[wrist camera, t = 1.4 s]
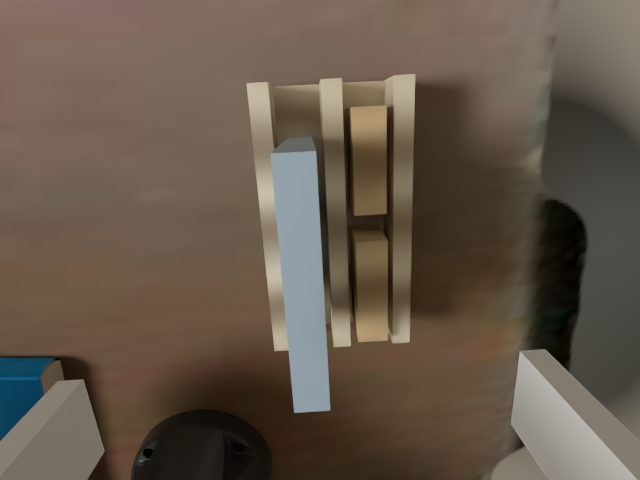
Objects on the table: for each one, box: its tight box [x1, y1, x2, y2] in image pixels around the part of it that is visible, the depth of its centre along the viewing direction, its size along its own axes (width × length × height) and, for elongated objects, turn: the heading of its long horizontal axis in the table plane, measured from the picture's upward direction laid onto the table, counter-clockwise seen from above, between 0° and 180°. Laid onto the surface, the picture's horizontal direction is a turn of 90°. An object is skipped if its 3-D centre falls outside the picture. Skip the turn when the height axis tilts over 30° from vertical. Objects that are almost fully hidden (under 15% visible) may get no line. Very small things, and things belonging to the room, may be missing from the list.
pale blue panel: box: [271, 136, 330, 413], centre depth 26 cm, size 14×2×16 cm, turn 3°
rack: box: [247, 74, 415, 351], centre depth 33 cm, size 22×12×6 cm, turn 3°
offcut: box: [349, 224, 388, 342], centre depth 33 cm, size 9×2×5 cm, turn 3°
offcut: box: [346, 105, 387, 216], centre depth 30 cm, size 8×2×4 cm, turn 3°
